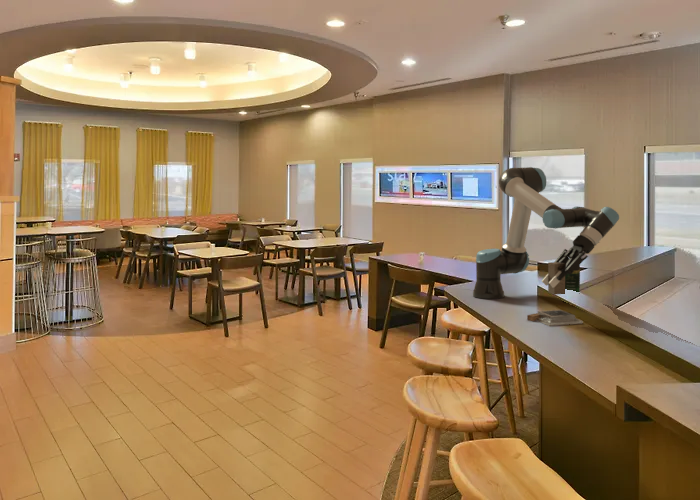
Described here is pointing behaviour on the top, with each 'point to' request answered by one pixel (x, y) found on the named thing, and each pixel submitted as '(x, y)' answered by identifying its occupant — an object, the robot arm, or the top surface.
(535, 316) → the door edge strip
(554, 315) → the keeper
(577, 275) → the coffee jar
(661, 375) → the top surface
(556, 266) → the stop bar
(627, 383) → the top surface
